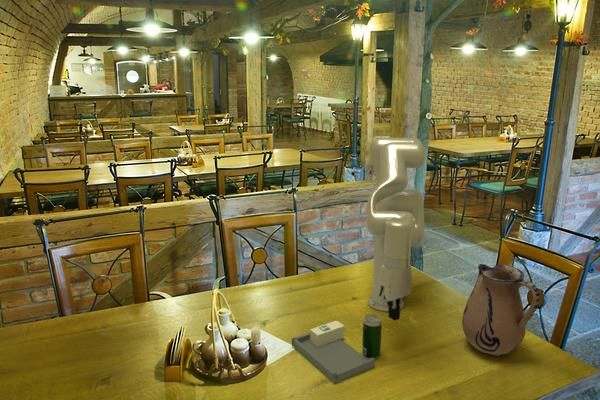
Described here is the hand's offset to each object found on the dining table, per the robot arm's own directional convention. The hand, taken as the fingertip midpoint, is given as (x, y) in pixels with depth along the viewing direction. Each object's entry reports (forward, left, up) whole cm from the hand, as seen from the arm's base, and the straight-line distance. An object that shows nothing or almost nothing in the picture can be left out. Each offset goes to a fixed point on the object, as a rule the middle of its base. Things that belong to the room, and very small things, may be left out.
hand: (393, 318), depth 145 cm
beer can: (+8, 0, -10) cm, 13 cm away
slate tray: (+18, -6, -10) cm, 22 cm away
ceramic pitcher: (-25, +18, -10) cm, 32 cm away
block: (+10, -13, -7) cm, 18 cm away
